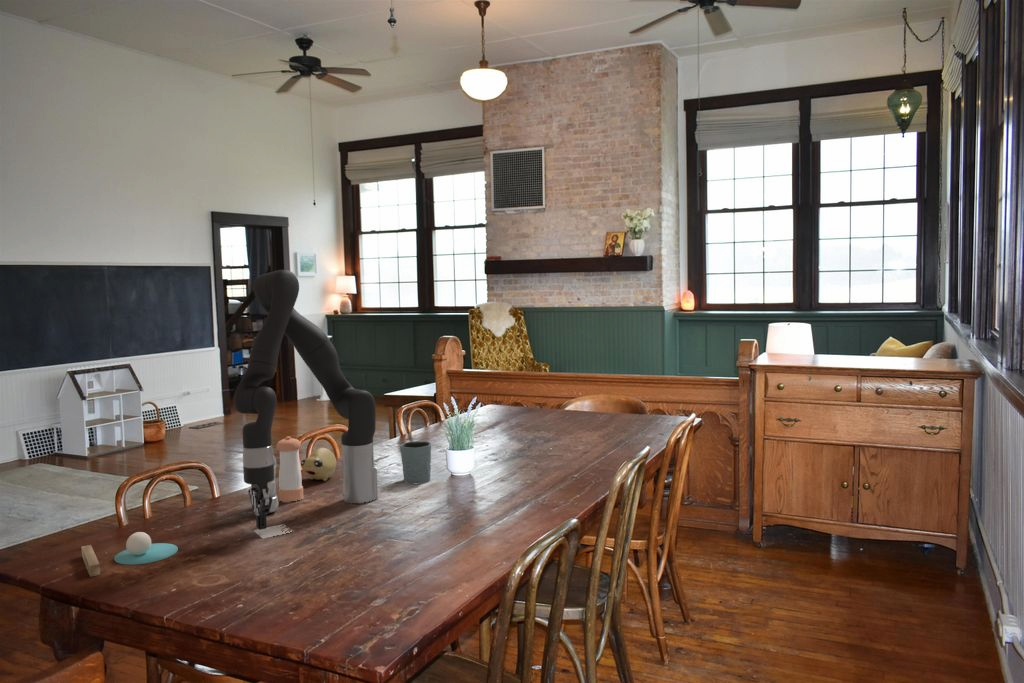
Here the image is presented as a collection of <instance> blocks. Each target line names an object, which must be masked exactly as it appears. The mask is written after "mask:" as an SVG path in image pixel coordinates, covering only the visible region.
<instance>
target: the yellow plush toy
mask: <svg viewBox="0 0 1024 683" xmlns="http://www.w3.org/2000/svg"><path fill="white" fill-rule="evenodd" d="M300 465H301V466H300V468H301V470H303V471H304V472H305V473H306V475H308V477H309V479H310V480H314V479H315V480H322V481H324V482H327V480H328V477H330V476H331V475H334V474H335V472H336V471H335V469H336V467H337V458H336V456H335V454H334V453H333V452H332V451H331V450H330V449H329V448H328V447H327V448H326V447H318V448H317V449H315V450H314V451H313V452H312V453H311V454H310V455H309V456H308V457H306V458H305V459H302V460H301V462H300Z"/></svg>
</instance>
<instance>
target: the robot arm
mask: <svg viewBox="0 0 1024 683" xmlns="http://www.w3.org/2000/svg"><path fill="white" fill-rule="evenodd" d="M252 290H253V291H252V292H253V294H254V296H255V299H256V301H257V302H258V304H260V306H261V307H262V308H263V309H264V310H265V312H266V313H267V316H266V319H265V321H264V323H263V324H262V326H261V328H260V329H259V331H258V333H257V335H256V337H255V338H254V340H253V343H252V346H251V349H250V353H249V357H248V362H247V363H248V364H247V367H246V370H245V371H244V373H243V375H242V377H241V380H240V382H239V383H238V385H237V387H236V389H235V391H234V395H233V405H234V408H235V410H236V411H237V412H238V413H240V414H243V415H244V414H247V415H249V414H251V415H254V414H255V415H257V418H256V421H253V422H248V423H246V424H245V425H244V426H243V427H242V447H243V448H242V469H243V470H242V472H243V482H244V483H245V484H247V485H250V488H249V489H248V496H249V500H250V504H251V508H252V511H253V513H254V514H255V523H256V525H255V526H256V528H257V529H259V530H262V529H266V528H267V527H268V526H267V524H268V523H267V515H269V514H270V513H269V512H270V508H271V504H272V497H269V494H270V490H269V488H268V485H267V483H268V482H271V481H272V480H274V460H273V455H274V451H273V445H272V443H273V442H272V427H273V421H274V416H275V413H276V412H275V411H276V410H277V409H276V408H277V402H278V399H277V397H278V396H277V395H276V392H275V391H274V389H273V388H271V387H269V386H259V385H260V384H261V383H262V382H265V381H269V380H271V379H274V377H275V374H276V370H277V365H278V358H279V355H280V354H279V353H280V350H281V345H282V341H283V338H284V335H285V336H286V338H287V339H288V340H289V342H290V343H291V345H292V346H293V347H294V348H295V351H297V353H298V355H299V356H300V358H301V359H302V361H303V362H304V364H306V366H307V367H308V369H309V370H310V371H311V374H313V376H314V377H315V378H316V379H317V381H318V383H320V385H321V386H322V389H323V390H324V391H325V393H326V395H327V397H328V399H329V400H330V402H331V404H332V406H333V407H334V410H335V411H336V412H337V414H338V415H339V416H340V417H341V418H343V419H345V420H347V421H348V428H347V431H345V432H343V433H342V434H341V436H340V438H341V463H342V466H341V467H342V490H343V492H342V495H343V501H344V502H345V503H346V502H347V504H352V503H359V504H365V503H364V502H366V503H370V502H373V501H374V500H377V499H378V497H379V496H378V494H379V492H378V470H377V467H376V466H375V459H374V457H375V456H374V435H375V433H376V422H377V421H376V420H377V418H376V416H377V412H376V401H375V398H374V396H373V394H372V393H370V392H369V391H368V390H364V389H359V388H358V389H357V388H354V387H353V385H352V384H351V383H350V382H349V381H348V380H347V378H346V377H345V375H344V373H343V372H342V369H341V366H340V361H339V355H338V352H337V350H336V348H335V346H334V344H333V343H332V341H331V340H330V338H329V337H328V335H327V334H326V333H325V332H324V330H323V329H321V328H320V327H319V326H318V325H316V324H315V323H313V321H310V320H309V319H307V318H306V317H305V316H303V315H302V314H300V312H298V311H297V310H296V308H295V304H296V303H297V300H298V297H299V296H298V295H299V292H300V282H299V279H298V277H297V276H296V274H295V273H294V272H292V271H291V270H288V269H278V270H274V271H271V272H266V273H262V274H260V275H258V276H257V277H256V278H255V279H254V281H253V283H252ZM372 500H373V501H372ZM369 501H370V502H369Z"/></svg>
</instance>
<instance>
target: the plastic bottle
mask: <svg viewBox="0 0 1024 683" xmlns="http://www.w3.org/2000/svg"><path fill="white" fill-rule="evenodd" d="M273 460H274V480H272V481H271V482H268V483H267V485H268V488H269V490H270V494H269V497H272V504H271V508H270V512H269V514H271V513H275V512H276V511H277V510H278V509H279V504H280V503H279V502H280V501H279V496H278V491H277V485H276V474H277V473H276V471H277V470H276V469H277V458H276V456H275V455H274V454H273Z"/></svg>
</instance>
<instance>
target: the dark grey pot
mask: <svg viewBox="0 0 1024 683" xmlns="http://www.w3.org/2000/svg"><path fill="white" fill-rule="evenodd" d="M399 447H400V456H401V464H402V473H403V482H404V481H405V482H404V483H406V482H407V483H406V484H410V483H420V484H426V483H428V482H431V470H432V465H431V463H432V443H431V442H430V441H421V440H419V441H418V440H417V441H407V442H404V443H401V444H400V445H399ZM425 482H426V483H425Z"/></svg>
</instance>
